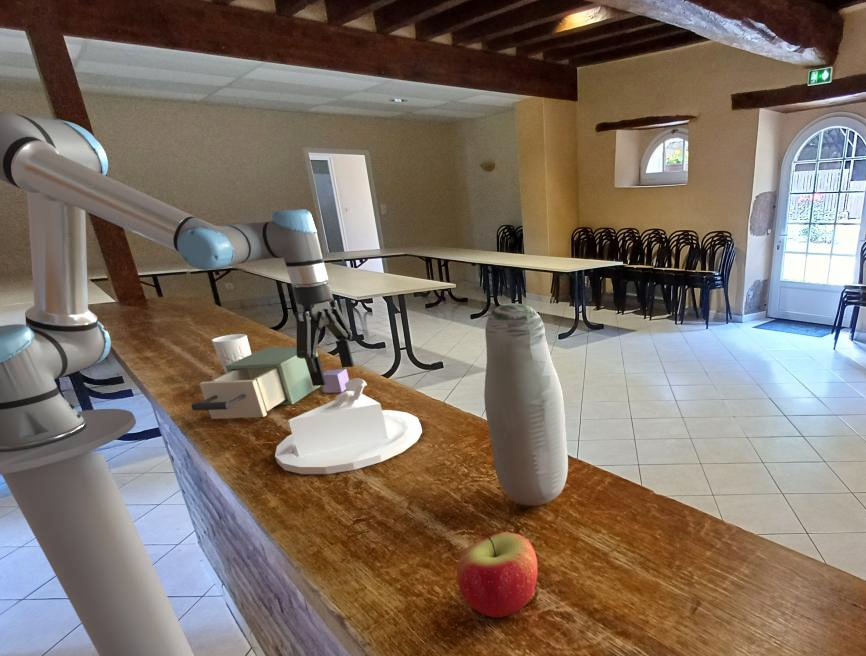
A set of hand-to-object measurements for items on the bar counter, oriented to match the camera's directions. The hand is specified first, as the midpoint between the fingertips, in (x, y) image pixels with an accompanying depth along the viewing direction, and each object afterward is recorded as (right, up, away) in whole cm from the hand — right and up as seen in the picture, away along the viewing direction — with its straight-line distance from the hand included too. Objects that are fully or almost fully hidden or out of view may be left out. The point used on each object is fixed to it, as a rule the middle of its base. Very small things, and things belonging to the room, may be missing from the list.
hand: (334, 375), depth 130 cm
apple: (+52, -30, -70) cm, 93 cm away
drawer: (-13, -9, -12) cm, 19 cm away
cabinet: (-12, -4, 0) cm, 13 cm away
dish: (+17, -15, -28) cm, 36 cm away
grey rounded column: (+53, -22, -50) cm, 76 cm away
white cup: (-34, +2, +19) cm, 39 cm away
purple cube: (0, -3, +1) cm, 4 cm away
